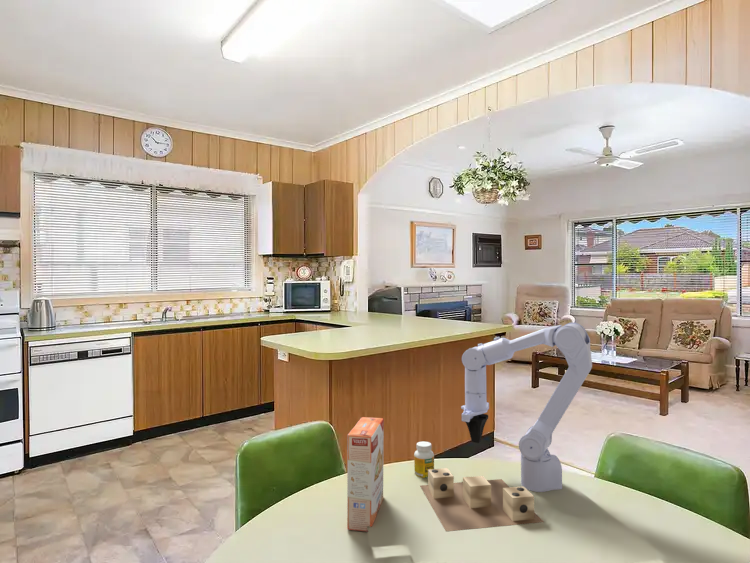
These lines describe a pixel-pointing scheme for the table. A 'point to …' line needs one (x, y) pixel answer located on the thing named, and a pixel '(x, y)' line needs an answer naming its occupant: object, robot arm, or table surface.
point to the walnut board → (473, 509)
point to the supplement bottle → (423, 459)
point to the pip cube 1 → (440, 483)
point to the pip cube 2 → (518, 503)
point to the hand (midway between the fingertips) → (476, 441)
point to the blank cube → (477, 492)
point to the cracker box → (364, 473)
